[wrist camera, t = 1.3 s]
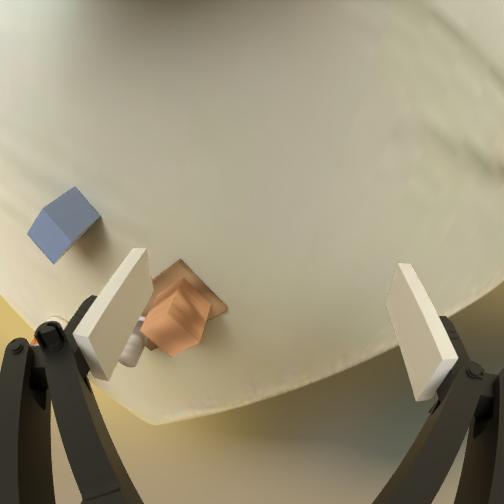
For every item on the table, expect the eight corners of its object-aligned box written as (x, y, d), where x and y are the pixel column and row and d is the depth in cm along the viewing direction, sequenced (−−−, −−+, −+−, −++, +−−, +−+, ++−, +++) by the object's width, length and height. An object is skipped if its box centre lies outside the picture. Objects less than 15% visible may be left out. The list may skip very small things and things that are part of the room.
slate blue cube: (57, 210, 41) (27, 233, 34) (74, 186, 39) (42, 208, 32) (81, 237, 43) (53, 264, 36) (100, 215, 41) (71, 241, 34)
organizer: (111, 310, 50) (89, 347, 42) (180, 258, 43) (160, 299, 35) (152, 346, 53) (136, 385, 45) (227, 306, 47) (216, 350, 39)
